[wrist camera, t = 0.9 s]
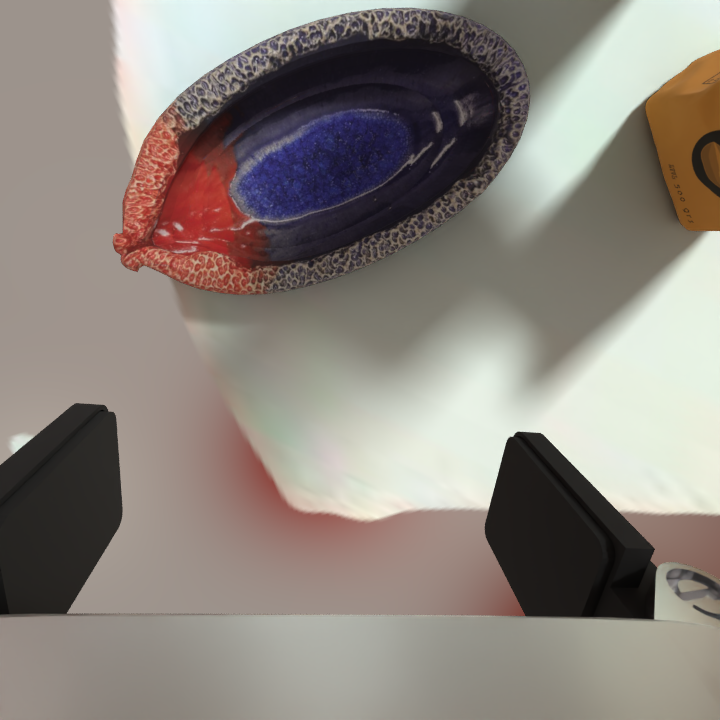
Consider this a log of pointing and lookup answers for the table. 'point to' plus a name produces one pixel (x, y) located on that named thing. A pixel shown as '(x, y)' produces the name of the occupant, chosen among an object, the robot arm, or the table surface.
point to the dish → (323, 150)
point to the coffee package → (690, 141)
